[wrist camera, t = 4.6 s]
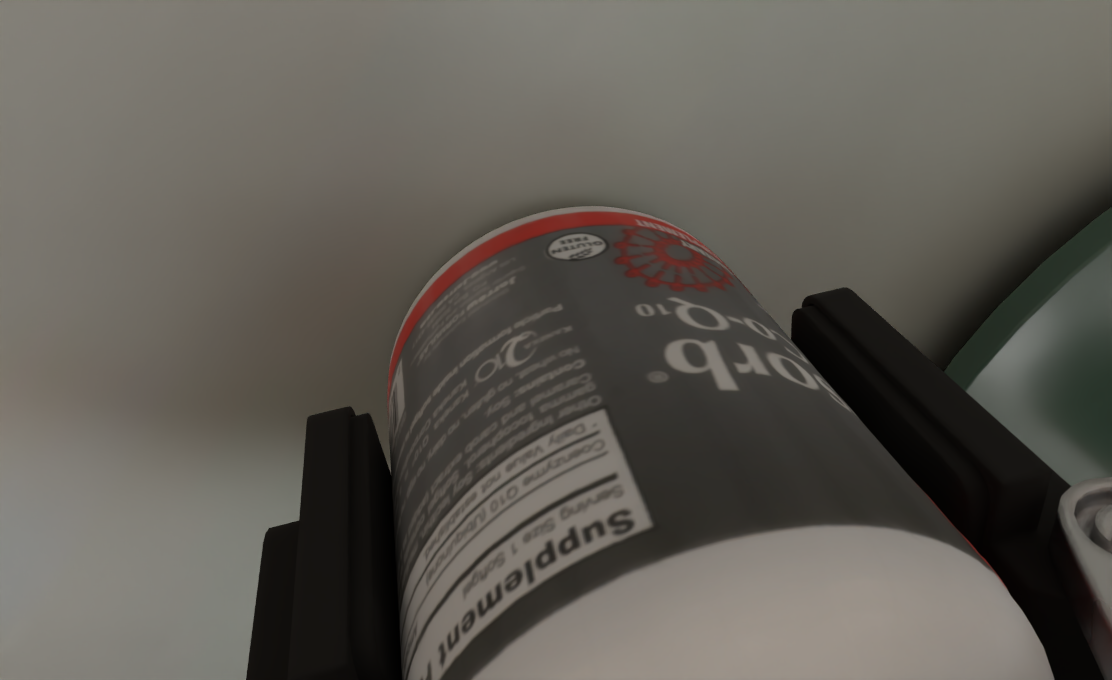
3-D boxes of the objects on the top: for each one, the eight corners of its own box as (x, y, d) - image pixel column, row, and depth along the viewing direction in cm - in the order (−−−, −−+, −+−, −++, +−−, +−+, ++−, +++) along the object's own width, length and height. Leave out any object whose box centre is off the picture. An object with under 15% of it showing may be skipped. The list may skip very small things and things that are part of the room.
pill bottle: (803, 325, 14) (1516, 1091, 5) (577, 542, 15) (851, 1400, 7) (552, 108, 11) (1230, 1014, 2) (306, 402, 12) (212, 1569, 4)
